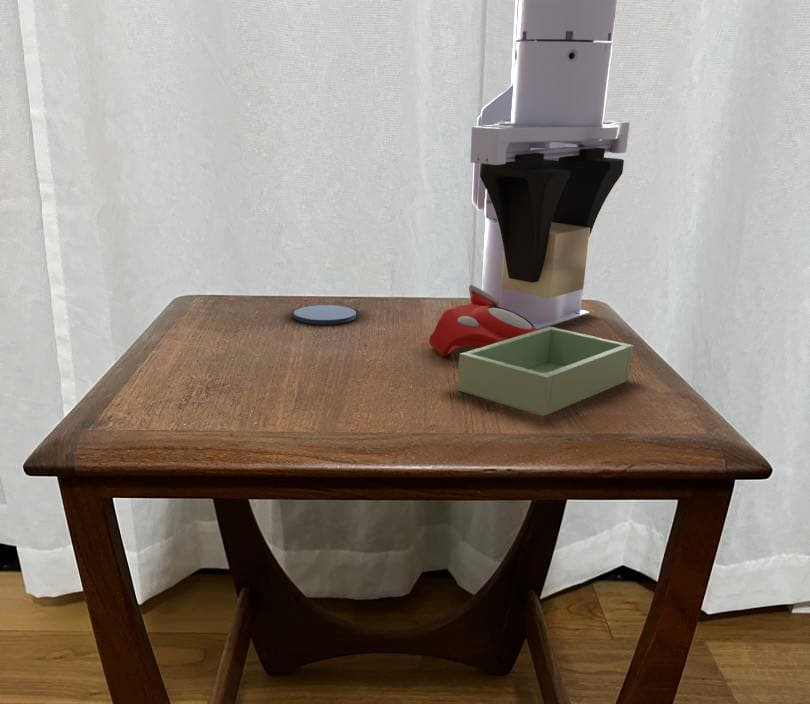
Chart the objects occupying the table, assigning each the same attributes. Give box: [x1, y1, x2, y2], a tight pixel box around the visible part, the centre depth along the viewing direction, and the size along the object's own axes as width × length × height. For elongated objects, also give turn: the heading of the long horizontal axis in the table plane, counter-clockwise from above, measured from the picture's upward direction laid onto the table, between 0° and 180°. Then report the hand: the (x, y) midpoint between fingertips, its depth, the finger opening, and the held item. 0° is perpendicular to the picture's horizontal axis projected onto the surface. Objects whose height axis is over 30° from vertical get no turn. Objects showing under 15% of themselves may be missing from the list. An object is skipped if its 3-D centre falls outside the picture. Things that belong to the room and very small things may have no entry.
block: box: [501, 222, 591, 298], centre depth 58 cm, size 4×4×4 cm
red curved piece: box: [428, 284, 537, 358], centre depth 70 cm, size 12×4×10 cm
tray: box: [457, 326, 634, 417], centre depth 61 cm, size 11×7×3 cm
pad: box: [293, 304, 357, 325], centre depth 79 cm, size 6×6×1 cm
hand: (543, 275), depth 59 cm, fingers closed on block, 4 cm apart
